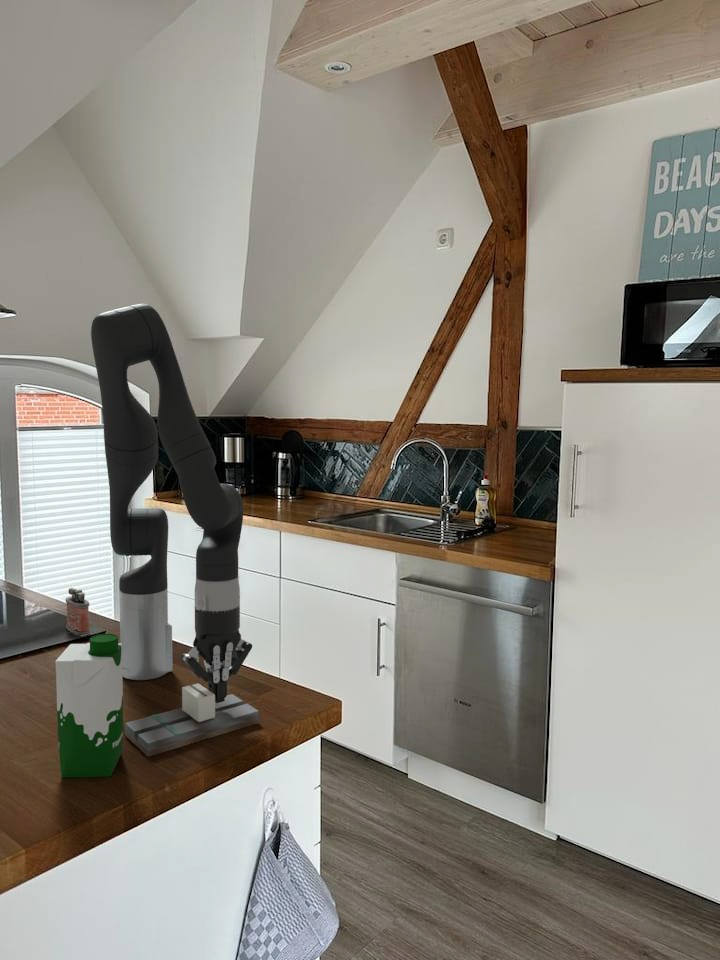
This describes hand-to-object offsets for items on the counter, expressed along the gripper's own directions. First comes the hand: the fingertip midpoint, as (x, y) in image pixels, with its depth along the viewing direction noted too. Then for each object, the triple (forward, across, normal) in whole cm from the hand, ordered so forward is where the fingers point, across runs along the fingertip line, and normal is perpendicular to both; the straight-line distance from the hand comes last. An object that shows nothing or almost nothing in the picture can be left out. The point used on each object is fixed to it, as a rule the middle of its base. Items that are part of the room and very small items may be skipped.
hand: (217, 700), depth 130 cm
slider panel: (+4, +5, 0) cm, 6 cm away
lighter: (+4, +2, -62) cm, 62 cm away
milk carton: (+4, +22, +2) cm, 23 cm away
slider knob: (+3, +4, 0) cm, 4 cm away
